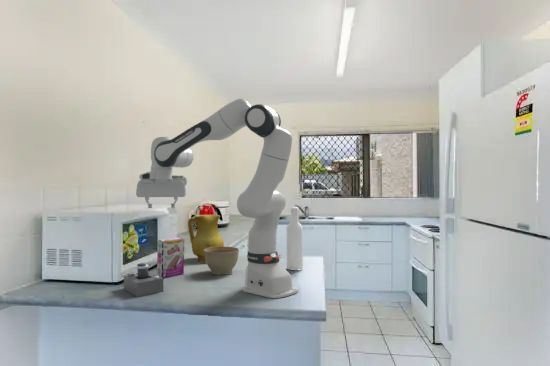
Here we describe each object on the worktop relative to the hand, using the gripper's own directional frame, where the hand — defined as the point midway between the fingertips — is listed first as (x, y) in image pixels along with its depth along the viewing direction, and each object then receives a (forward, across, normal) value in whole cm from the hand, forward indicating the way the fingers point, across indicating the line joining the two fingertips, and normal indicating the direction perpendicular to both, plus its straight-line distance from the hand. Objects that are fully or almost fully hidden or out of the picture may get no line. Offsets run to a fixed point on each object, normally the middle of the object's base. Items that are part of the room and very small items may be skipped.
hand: (161, 207), depth 152 cm
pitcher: (+31, -20, -40) cm, 55 cm away
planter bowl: (+31, -26, -9) cm, 42 cm away
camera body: (+31, +5, +12) cm, 34 cm away
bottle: (+31, -61, -9) cm, 69 cm away
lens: (+29, +5, +12) cm, 32 cm away
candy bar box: (+31, -3, -9) cm, 33 cm away
